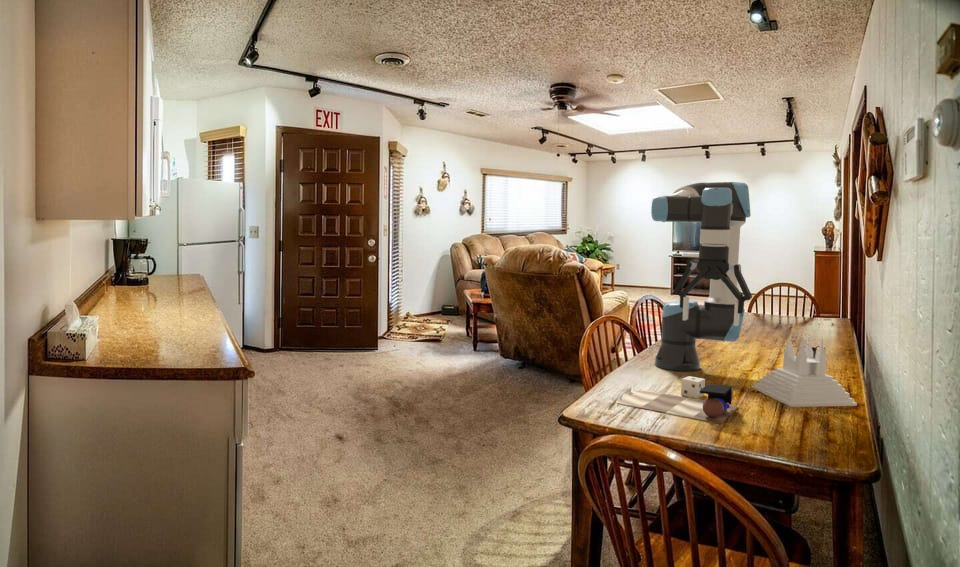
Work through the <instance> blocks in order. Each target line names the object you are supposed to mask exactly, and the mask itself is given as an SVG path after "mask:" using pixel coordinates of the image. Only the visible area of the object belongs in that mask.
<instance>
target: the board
mask: <svg viewBox="0 0 960 567" xmlns="http://www.w3.org/2000/svg"><path fill="white" fill-rule="evenodd" d="M704 401H705V400H702V399H699V398H698V399H697V398H692V397H687V396H682V395H676V394H675V395H674V394H671V393H669V394H668V393H663V392H658V391H652V390H647V389H639V390H637V391H635V392H634V393H631V394H630V395H628V396H626V397H625V398H622V399H621V400H619V401H617V402H616V405H621V406H626V407H631V408H636V409H641V410H647V411H652V412H656V413H662V414H667V415H672V416H677V417H681V418H687V419H692V420H697V421H701V422H707V423H711V424H717V425H721V424H723V422H724V421H725V420H727V419H728V418H729V417H730V416H731V415H732V414H733V413H734V412H736V410H738V409H739V406H736V405H732V404H729V406H730V407H729V408H726V409H725V410H723V413H722V414H721V415H720V416H719V417H716V418H712V417H709V416H707V415H706V414H705V413H704V411H703V402H704Z"/></svg>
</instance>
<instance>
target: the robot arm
mask: <svg viewBox="0 0 960 567" xmlns="http://www.w3.org/2000/svg"><path fill="white" fill-rule="evenodd" d="M749 190H750V189H749V185H748V184H747V183H745V182H739V181H728V182H727V181H726V182H723V181H722V182H721V181H719V182H696V183H691V184H687V185H684V186H681V187H680V188H679V187H678V188H677V189H676V190H675V191H673V193H672V194H671V195H656V196H654V197H653V198H652V200H651V208H650V209H651V212H650V213H651V218H652V221H654V222H662V223H666V222H667V223H668V222H669V223H671V222H672V223H675V222H678V223H679V222H680V223H684V222H685V223H687V222H688V223H700V231H699V232H700V233H699V243H700V244H701V245H700V246H699V247H698V248H699V249H698V251H699V252H698V262H693V261H687V262H686V265H685V270H684V272H683V274H682V276H681V277H680V279H679V281H678V283H677V284H676V286H675V287H674V289H673V294H674V295H678V296H679V300H677V301H670V302H667V303H665V304H664V305H663V307H662V315H661V318H662V320H661V336H660V337H661V338H660V339H661V340H660V341H661V342H660V346H659V348H658V351H657V353H656V356H655V360H654V365H655V366H656V367H658V368H661V369H666V370H670V371H671V370H672V371H680V372H681V371H682V372H686V371H687V372H688V371H689V372H691V371H693V372H694V371H697V370H699V369H701V368H700V366H701V363H700V358H699V355H698V351H697V347H696V342H697V340H706V341H719V342H723V343H724V342H733V343H734V342H737V341H738V340H739V339H740V334H741V330H742V327H743V321H744V315H745V302H746V301H750V300H752V298H753V295H752V293H751V290H750V288H749V287H748V284H747V282H746V280H745V277H744V276H743V274H742V267H741V266H742V265H741V264H740V263H739V255H740V242H741V240H740V239H741V238H740V237H741V228H742V226H743V225H744V224H746V223H747V222H746V220H747V218H751V204H750V203H751V202H750V200H751V199H750V191H749ZM696 268H697V270H698V274H697V275H696V276H695V277H694V278H693V279H692V280H691V281H690V282H689V283H688V285H686V287H684V286H685V284H686V282H687V281H688V280H689V277H690V276H691V274H692V272H693V271H694V270H696ZM703 279H705V280H709V296H708V297H707V298H706V299H705V300H704V304H703V305H699V303H698V301H696V300H690V296H689V295H688V294H689V293H690V292H691V291H692V290H693V289H694V287H696V285H698V284H699V283H700V282H701V281H702V280H703ZM738 285H739V288H740V290H741V291H742V292H741V291H740V290H739V288H738ZM682 289H683V290H682ZM696 339H697V340H696Z"/></svg>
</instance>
